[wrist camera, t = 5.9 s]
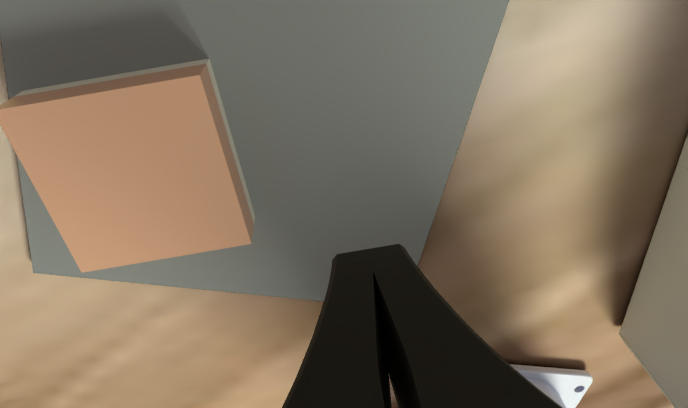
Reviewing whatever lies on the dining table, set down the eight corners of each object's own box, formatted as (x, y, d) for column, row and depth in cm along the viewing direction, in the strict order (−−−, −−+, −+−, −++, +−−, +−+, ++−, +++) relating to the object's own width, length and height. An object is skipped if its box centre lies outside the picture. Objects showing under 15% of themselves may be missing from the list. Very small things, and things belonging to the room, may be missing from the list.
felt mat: (401, 302, 22) (402, 309, 22) (37, 266, 20) (33, 272, 19) (516, -39, 15) (521, -38, 15) (-20, -164, 13) (-29, -165, 12)
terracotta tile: (199, 74, 14) (-8, 110, 14) (251, 244, 17) (81, 272, 17) (209, 58, 16) (22, 90, 16) (255, 216, 19) (99, 242, 19)
